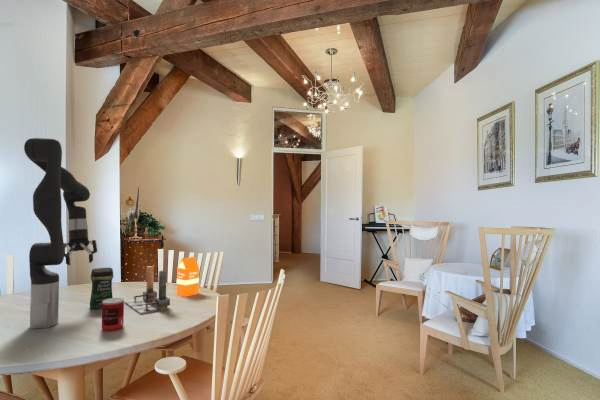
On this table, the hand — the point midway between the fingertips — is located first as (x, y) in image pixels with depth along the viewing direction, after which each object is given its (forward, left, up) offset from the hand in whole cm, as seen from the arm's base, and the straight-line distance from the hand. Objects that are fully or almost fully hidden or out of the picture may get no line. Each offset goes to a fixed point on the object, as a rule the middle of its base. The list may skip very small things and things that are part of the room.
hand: (79, 263), depth 160 cm
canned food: (-29, -22, -22) cm, 43 cm away
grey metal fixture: (+1, -29, -21) cm, 36 cm away
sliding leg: (+8, -27, -20) cm, 34 cm away
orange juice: (+21, -46, -22) cm, 55 cm away
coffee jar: (+4, -8, -22) cm, 23 cm away
